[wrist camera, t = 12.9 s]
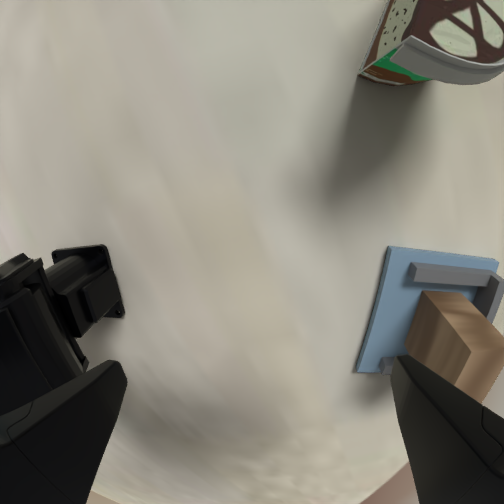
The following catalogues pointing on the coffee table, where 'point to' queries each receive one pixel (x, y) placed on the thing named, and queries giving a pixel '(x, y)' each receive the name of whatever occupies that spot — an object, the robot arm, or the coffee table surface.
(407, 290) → the cradle
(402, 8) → the food container
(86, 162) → the coffee table surface
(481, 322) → the walnut block
